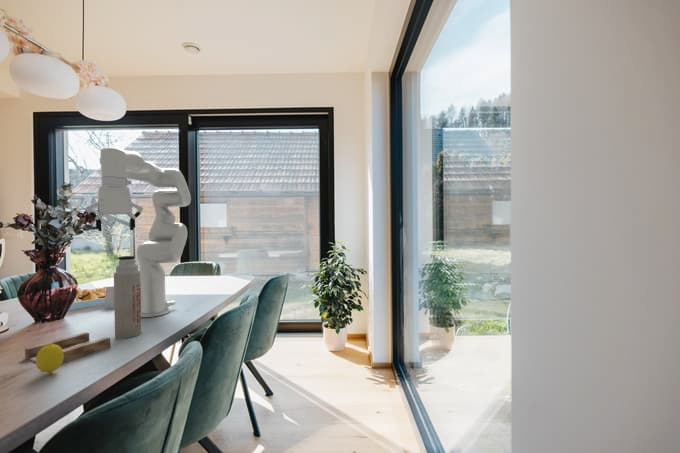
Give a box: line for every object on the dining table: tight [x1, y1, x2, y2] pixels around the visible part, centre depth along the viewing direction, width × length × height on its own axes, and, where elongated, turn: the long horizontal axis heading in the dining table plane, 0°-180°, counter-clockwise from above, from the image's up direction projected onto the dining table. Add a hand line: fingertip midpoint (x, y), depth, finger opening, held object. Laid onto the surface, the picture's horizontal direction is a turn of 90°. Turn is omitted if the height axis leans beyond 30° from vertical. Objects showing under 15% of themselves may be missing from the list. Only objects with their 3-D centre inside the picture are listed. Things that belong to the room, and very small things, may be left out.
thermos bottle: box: [113, 255, 142, 339], centre depth 119 cm, size 8×8×28 cm
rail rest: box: [24, 331, 112, 364], centre depth 103 cm, size 16×14×3 cm
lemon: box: [35, 343, 64, 375], centre depth 89 cm, size 6×6×8 cm
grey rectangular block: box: [104, 285, 114, 310], centre depth 159 cm, size 4×7×10 cm, turn 110°
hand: (116, 230), depth 121 cm, fingers open, 9 cm apart
